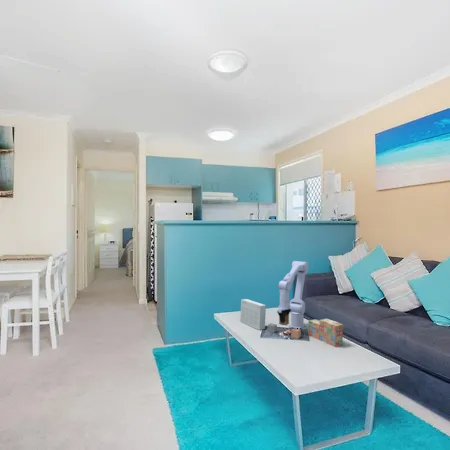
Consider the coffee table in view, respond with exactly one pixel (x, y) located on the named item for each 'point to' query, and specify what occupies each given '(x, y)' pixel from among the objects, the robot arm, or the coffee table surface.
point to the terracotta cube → (296, 333)
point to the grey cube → (272, 327)
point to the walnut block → (285, 320)
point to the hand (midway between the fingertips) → (284, 321)
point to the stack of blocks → (327, 331)
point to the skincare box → (253, 314)
